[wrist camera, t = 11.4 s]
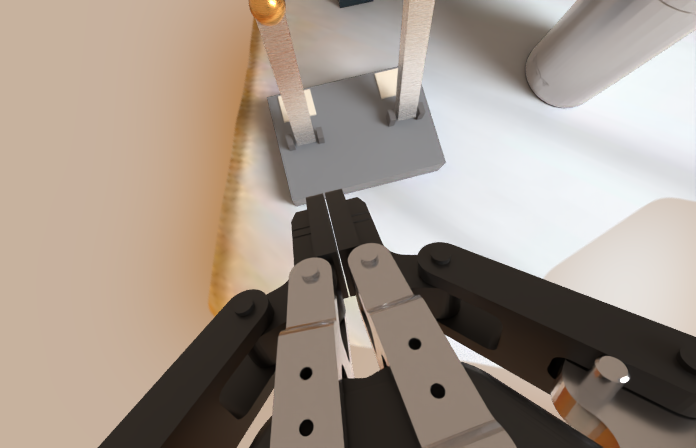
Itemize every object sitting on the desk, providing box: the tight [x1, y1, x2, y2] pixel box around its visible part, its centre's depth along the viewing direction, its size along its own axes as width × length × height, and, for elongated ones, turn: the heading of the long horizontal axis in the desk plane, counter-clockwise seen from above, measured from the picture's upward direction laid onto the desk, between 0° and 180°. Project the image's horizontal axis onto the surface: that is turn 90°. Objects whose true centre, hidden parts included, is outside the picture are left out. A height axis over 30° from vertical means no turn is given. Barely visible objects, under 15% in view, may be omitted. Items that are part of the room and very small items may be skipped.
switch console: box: [267, 67, 446, 206], centre depth 34 cm, size 17×12×4 cm
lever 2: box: [394, 0, 435, 121], centre depth 27 cm, size 2×2×14 cm
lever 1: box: [249, 0, 316, 146], centre depth 26 cm, size 2×2×14 cm
